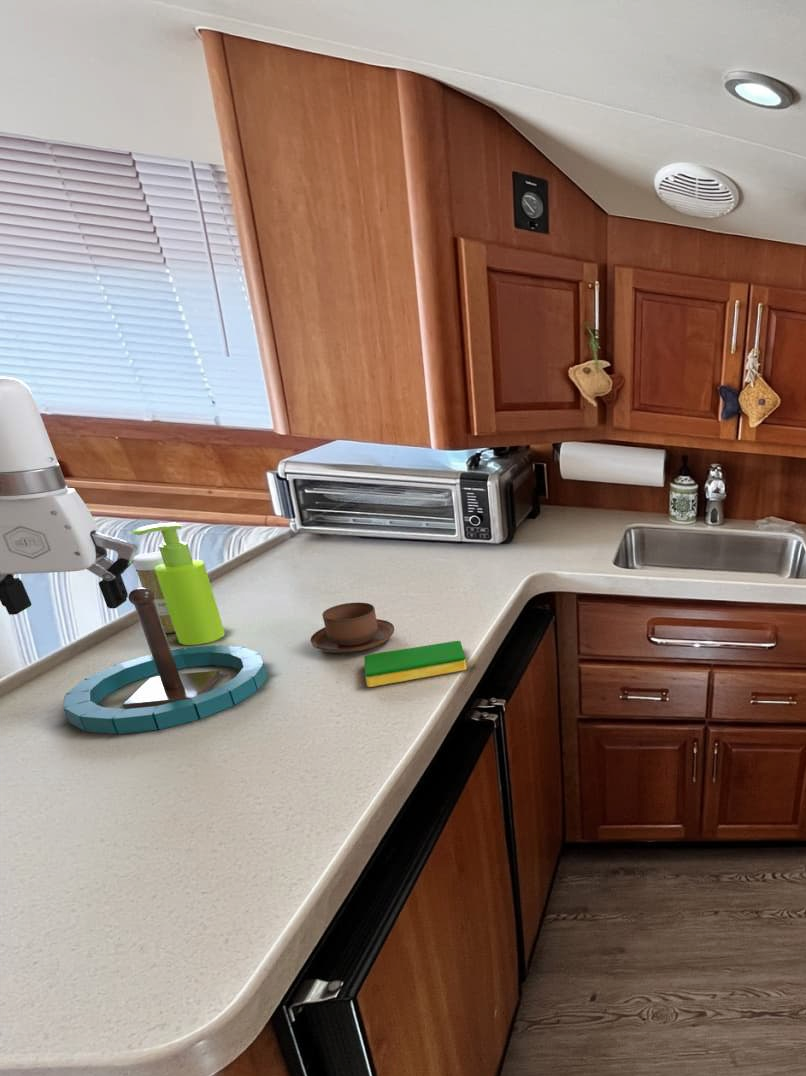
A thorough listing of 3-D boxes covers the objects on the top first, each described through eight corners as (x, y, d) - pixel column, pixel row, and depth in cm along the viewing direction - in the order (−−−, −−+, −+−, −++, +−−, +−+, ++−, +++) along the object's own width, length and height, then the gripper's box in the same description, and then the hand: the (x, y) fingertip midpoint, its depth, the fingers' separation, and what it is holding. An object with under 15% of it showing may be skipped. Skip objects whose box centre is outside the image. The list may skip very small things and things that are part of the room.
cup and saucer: (297, 647, 107) (288, 614, 105) (368, 622, 118) (361, 592, 115) (341, 666, 103) (333, 632, 101) (411, 639, 113) (405, 607, 111)
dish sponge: (367, 667, 103) (364, 654, 102) (461, 652, 110) (460, 639, 109) (367, 688, 98) (364, 674, 97) (467, 670, 105) (465, 657, 104)
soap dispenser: (165, 639, 106) (126, 524, 99) (218, 626, 112) (185, 517, 104) (176, 650, 103) (137, 533, 96) (230, 637, 109) (197, 525, 101)
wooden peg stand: (124, 710, 88) (82, 601, 82) (153, 682, 95) (116, 579, 88) (197, 703, 91) (162, 597, 84) (220, 675, 98) (189, 576, 91)
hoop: (30, 744, 80) (23, 728, 79) (120, 666, 98) (115, 652, 97) (235, 721, 88) (231, 706, 87) (285, 652, 105) (281, 640, 104)
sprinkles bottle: (176, 634, 108) (152, 560, 103) (148, 633, 108) (122, 558, 102) (199, 623, 112) (176, 551, 107) (172, 622, 112) (148, 550, 107)
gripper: (-108, 489, 72) (-42, 625, 79) (94, 487, 78) (140, 613, 85) (-57, 475, 78) (0, 601, 85) (127, 474, 85) (167, 592, 91)
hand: (70, 607), depth 85 cm, fingers open, 9 cm apart
